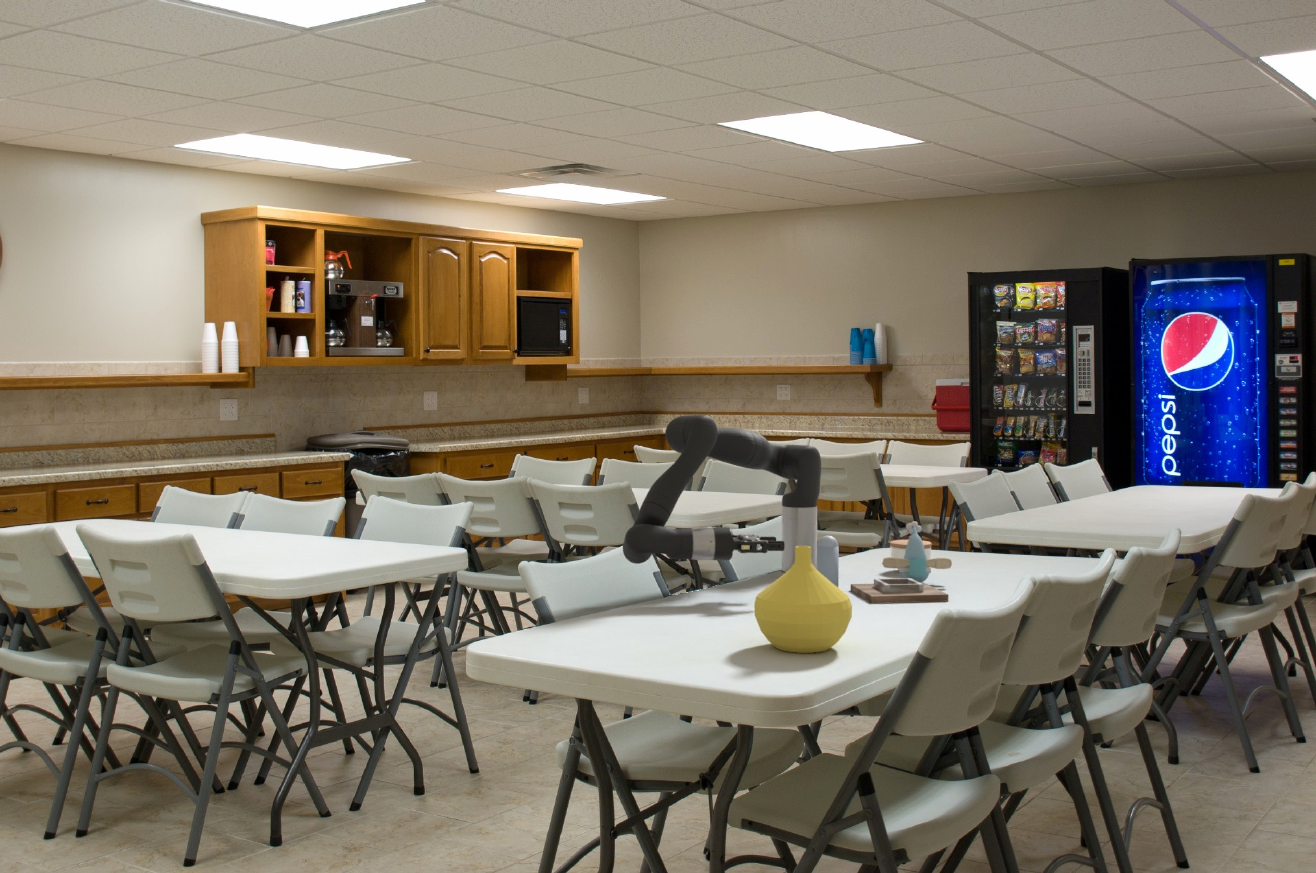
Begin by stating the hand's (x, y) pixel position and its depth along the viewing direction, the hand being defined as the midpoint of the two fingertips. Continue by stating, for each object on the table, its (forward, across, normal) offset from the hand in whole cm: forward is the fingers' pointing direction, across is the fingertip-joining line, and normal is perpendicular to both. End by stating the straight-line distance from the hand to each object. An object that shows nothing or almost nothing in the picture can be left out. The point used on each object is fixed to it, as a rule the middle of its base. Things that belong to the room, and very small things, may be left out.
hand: (779, 543), depth 287 cm
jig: (+28, 0, +12) cm, 31 cm away
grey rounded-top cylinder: (+12, 0, +13) cm, 17 cm away
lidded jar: (+44, +35, +12) cm, 57 cm away
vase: (-7, -52, +14) cm, 54 cm away
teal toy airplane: (+38, +17, +12) cm, 44 cm away
